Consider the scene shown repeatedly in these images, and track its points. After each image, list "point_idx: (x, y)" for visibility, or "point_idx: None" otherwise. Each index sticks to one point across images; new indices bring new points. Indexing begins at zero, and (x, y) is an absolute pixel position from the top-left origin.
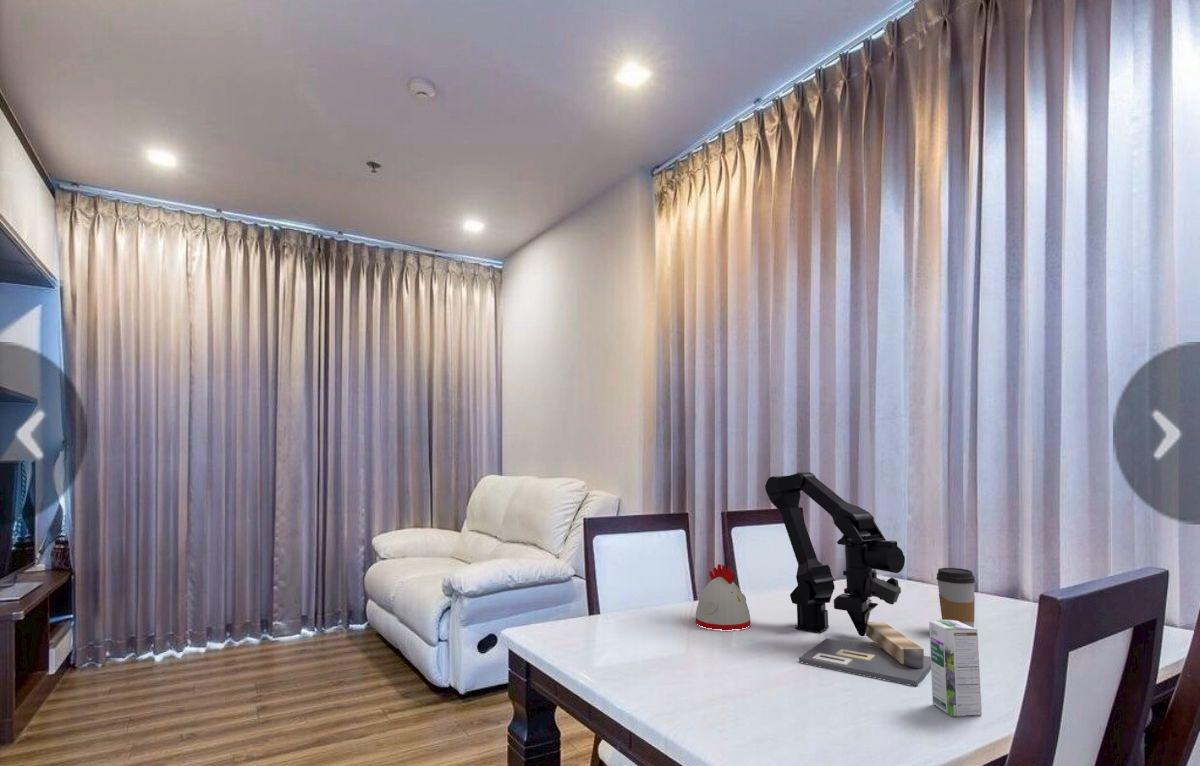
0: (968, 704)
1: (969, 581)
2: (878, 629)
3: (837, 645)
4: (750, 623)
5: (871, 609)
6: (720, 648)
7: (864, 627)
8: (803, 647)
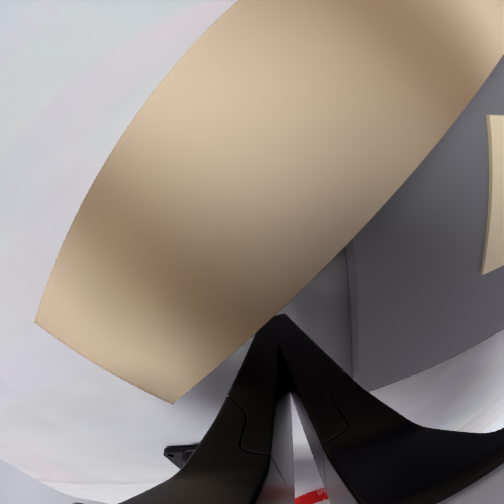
0: None
1: None
2: (318, 227)
3: (433, 320)
4: (314, 493)
5: (253, 499)
6: (490, 409)
7: (317, 347)
8: (439, 374)
